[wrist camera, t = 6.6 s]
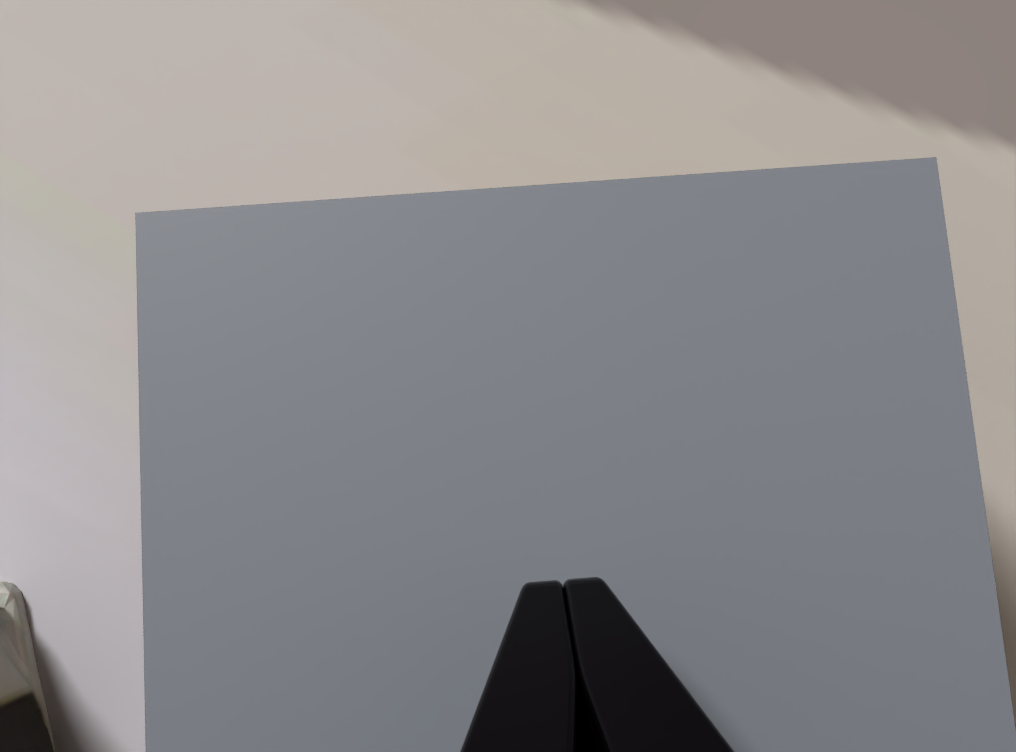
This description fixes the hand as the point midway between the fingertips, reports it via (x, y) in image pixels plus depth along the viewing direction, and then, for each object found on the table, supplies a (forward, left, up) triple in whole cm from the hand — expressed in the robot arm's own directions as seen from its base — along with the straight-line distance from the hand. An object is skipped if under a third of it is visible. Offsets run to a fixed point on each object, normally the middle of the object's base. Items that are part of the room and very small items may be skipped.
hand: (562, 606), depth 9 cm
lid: (+1, 0, -1) cm, 2 cm away
